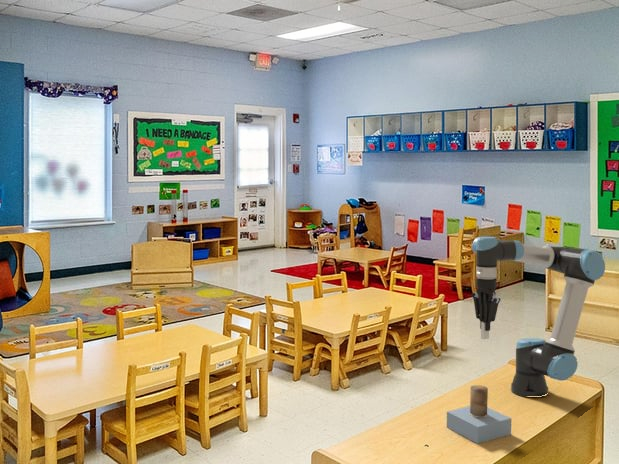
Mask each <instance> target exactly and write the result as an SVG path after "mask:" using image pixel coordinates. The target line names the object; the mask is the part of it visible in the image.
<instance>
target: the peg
mask: <svg viewBox="0 0 619 464" xmlns="http://www.w3.org/2000/svg"><path fill="white" fill-rule="evenodd" d="M488 391H489V387H487V386H485V385H479V384H478V385H471V386H470V395H469V396H470V398H469V400H470V401H469V404H470V405H469V406H470V415H471V416H472V417H475V418H478V419H479V418H485V417H487V407H488V400H489V399H488V398H489V397H488V396H489V395H488V394H489V393H488Z"/></svg>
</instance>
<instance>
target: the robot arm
mask: <svg viewBox="0 0 619 464" xmlns="http://www.w3.org/2000/svg"><path fill="white" fill-rule="evenodd" d="M471 250H472V252H473V253H474V254H475V256H476V262H475V263H476V267H475V269H476V271H475V272H476V273H475V274H476V275H475V276H476V278H475V287H476V292H473V293H471V296H472V299H473V305H474V312H475V313H474V314H475V317H476V319H478V320H479V323H480V324H479V326H480V327H479V329H480V340H481V339H482V340H487V339H490V331H491V323H493V322H495V321H496V317H497V312H498V307H499V303H500V302H501V301H502V300H501V298H500V297H498V296H496V291H495V290H496V288H497V283H498V282H497V275H498V273H497V271H498V262H507V261H511V262H513V261H514V262H519V263H526V264H531V265H538V266H539V267H541V268H542V269H548V270H550V271H554V272H557V273H560V274H563V279H564V281H565V286H564V290H563V292H562V297H561V298H560V299H561V300H560V303H559V307H558V310H557V314H556V317H555V321H554V324H553V327H552V331H551V334H550V338H548V339H546V340H545V339H543V338H539V337H527V338H526V337H525V338H520V339H518V340H517V341H516V346H515V347H516V348H515V374H514V376H513V379H512V382H511V384H510V392H512V393H513V394H514V395H516V396H520V397H523V396H542V395H545V394H547V393H548V394H549V386H548V383H547V381H546V377H549V378H550V379H553V380H556V381H567V380H569V379H571V378H572V377H573V376H574V374H575V373H576V371H577V369H578V364H579V363H578V360H577V356H575V352H576V349H575V348H574V346H573V343H574V340H575V336H576V332H577V329H578V325H579V322H580V320H581V316H582V313H583V308H584V305H585V301H586V299H587V295H588V292H589V288H591V287H593V286H594V285H595V282H596V281H598V280H600V279H601V278H602V277H603V276H604V274H605V271H606V263H605V260H604V257H603V255H602V254H601V253H599V251H597V250H596V251H595V250H592V249H588V248H580V247H573V246H552V245H551V246H550V245H543V246H536V245H531V244H525V243H522V242H521V241H520V240H514V239H512V240H505V239H504V240H503V239H499V238H498V237H495V236H478V237H476V238H475V239H474V240H473V242H472V244H471ZM545 376H546V377H545Z"/></svg>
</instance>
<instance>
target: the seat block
mask: <svg viewBox="0 0 619 464" xmlns="http://www.w3.org/2000/svg"><path fill="white" fill-rule="evenodd" d="M446 428H448V429H449V430H450V431H452V432H455V433H456V434H458V435H460V436H462V437H465V438H466V439H467V440H470V441H472V442H473V443H475V444H477V445H478V444H481V443H485V442H488V441H493V440H496V439H499V438H502V437H503V438H504V437H507V436H510V435H512V418H511V417H509V416H508V415H505V414H504V413H500V412H499V411H496V410H494V409H492V408H490V407H488V406H487V417H485V418H479V419H478V418H475V417H472V416H471V415H470V405H468V406H464V407H461V408H456V409H452V410H448V411H446Z"/></svg>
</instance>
